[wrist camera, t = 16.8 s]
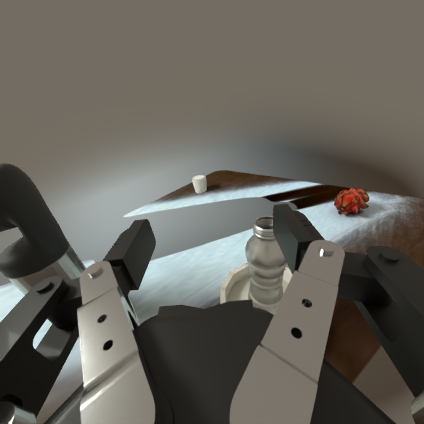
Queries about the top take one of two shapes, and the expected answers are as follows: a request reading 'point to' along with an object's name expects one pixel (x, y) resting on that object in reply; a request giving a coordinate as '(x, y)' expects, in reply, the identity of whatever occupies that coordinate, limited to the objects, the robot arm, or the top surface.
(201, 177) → the white cup
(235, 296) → the bowl
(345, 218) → the top surface
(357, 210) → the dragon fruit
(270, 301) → the plastic bottle
